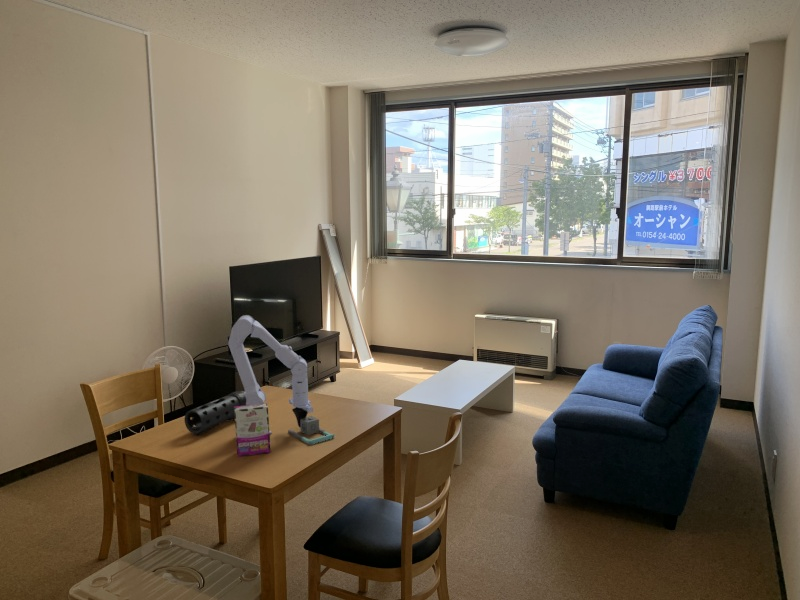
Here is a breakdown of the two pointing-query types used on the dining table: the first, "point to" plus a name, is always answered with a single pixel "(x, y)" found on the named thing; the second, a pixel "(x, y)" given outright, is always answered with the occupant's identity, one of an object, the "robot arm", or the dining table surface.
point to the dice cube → (309, 425)
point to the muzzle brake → (214, 413)
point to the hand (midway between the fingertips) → (301, 426)
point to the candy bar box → (252, 429)
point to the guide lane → (313, 441)
